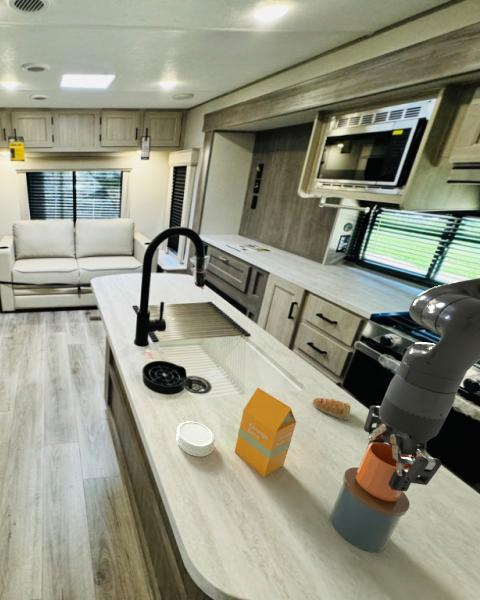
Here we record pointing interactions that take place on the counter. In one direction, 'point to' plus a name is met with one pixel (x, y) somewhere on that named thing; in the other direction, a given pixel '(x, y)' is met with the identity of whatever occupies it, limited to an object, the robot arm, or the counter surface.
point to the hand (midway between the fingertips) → (383, 471)
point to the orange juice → (265, 432)
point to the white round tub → (195, 438)
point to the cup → (379, 471)
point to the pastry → (333, 407)
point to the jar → (365, 515)
